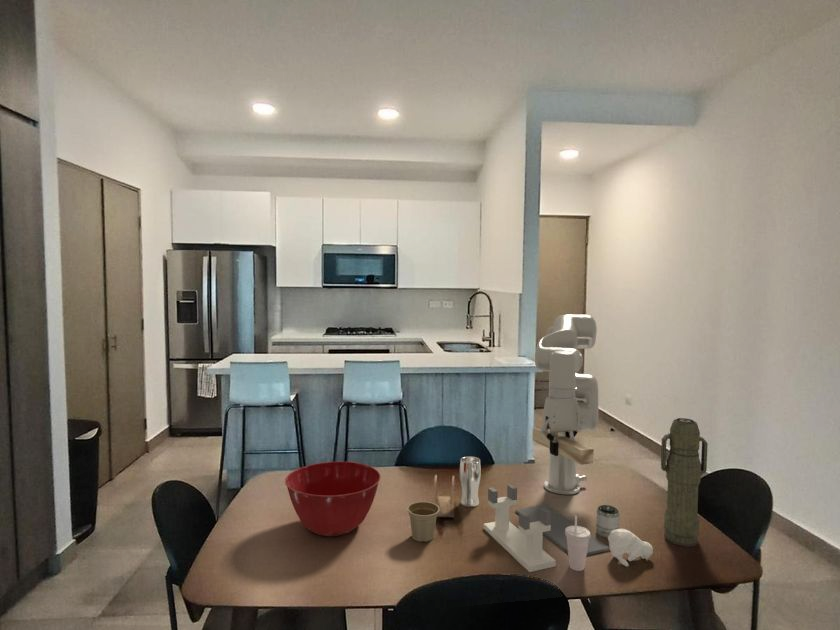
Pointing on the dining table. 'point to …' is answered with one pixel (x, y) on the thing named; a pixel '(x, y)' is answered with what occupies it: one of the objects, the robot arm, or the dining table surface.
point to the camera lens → (607, 520)
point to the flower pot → (423, 520)
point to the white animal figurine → (628, 546)
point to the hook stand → (519, 531)
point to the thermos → (683, 481)
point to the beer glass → (470, 480)
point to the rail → (566, 447)
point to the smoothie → (577, 545)
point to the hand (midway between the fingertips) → (560, 453)
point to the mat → (562, 529)
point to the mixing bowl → (332, 495)
